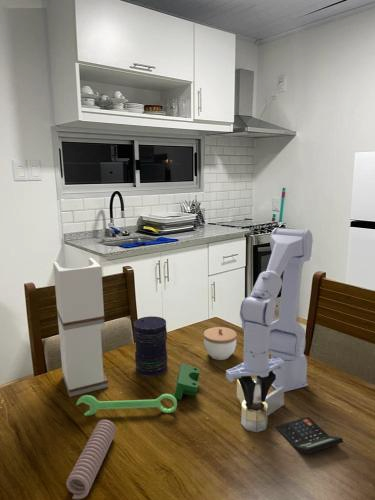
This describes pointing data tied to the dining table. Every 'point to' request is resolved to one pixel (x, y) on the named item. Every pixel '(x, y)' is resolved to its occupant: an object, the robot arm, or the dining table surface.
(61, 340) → the grey boxy piece
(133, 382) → the dining table surface
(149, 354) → the storage jar
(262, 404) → the tan ring with arms
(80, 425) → the dining table surface
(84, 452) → the coil
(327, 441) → the calculator
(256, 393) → the hinge pin
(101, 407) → the wrench
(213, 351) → the lidded jar
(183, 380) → the clamp
